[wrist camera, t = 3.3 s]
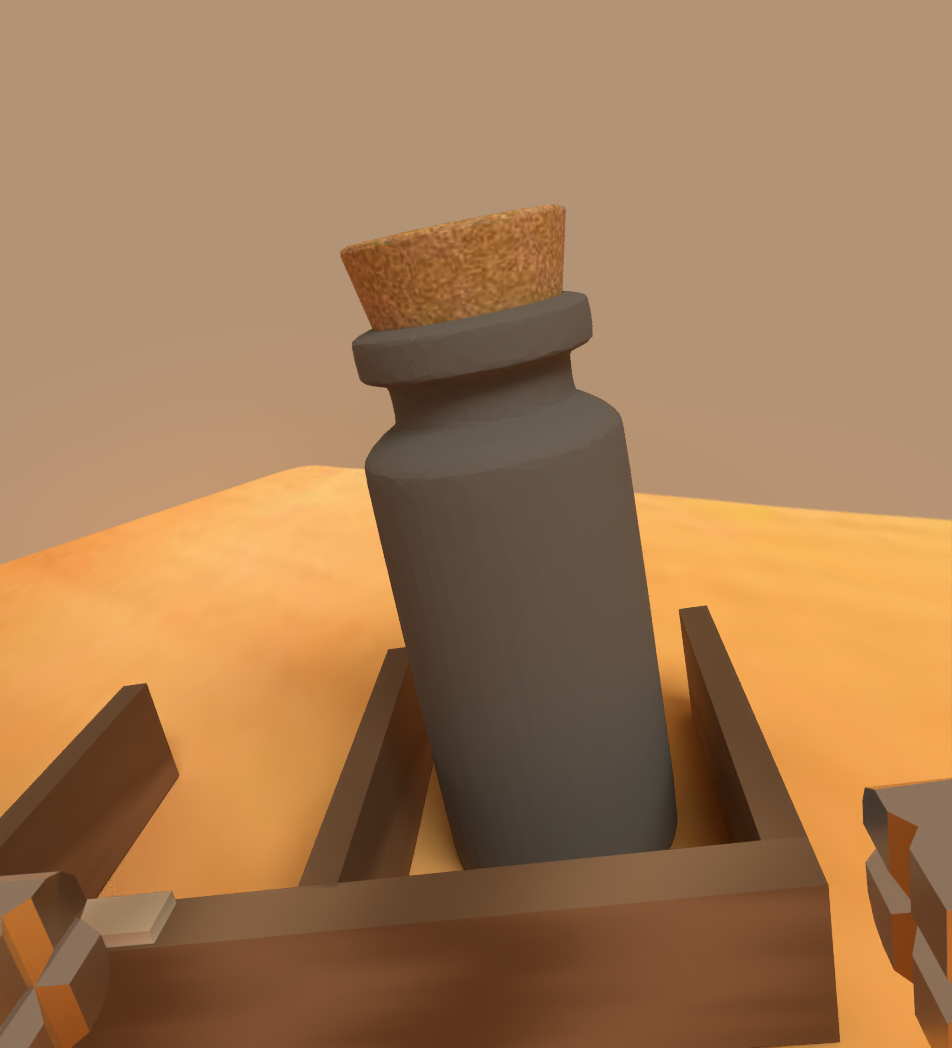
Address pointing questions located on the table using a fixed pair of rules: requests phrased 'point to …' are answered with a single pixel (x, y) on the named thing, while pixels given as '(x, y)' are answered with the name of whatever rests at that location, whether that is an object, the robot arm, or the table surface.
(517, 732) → the bottle
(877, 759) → the table surface
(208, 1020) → the notched rack
